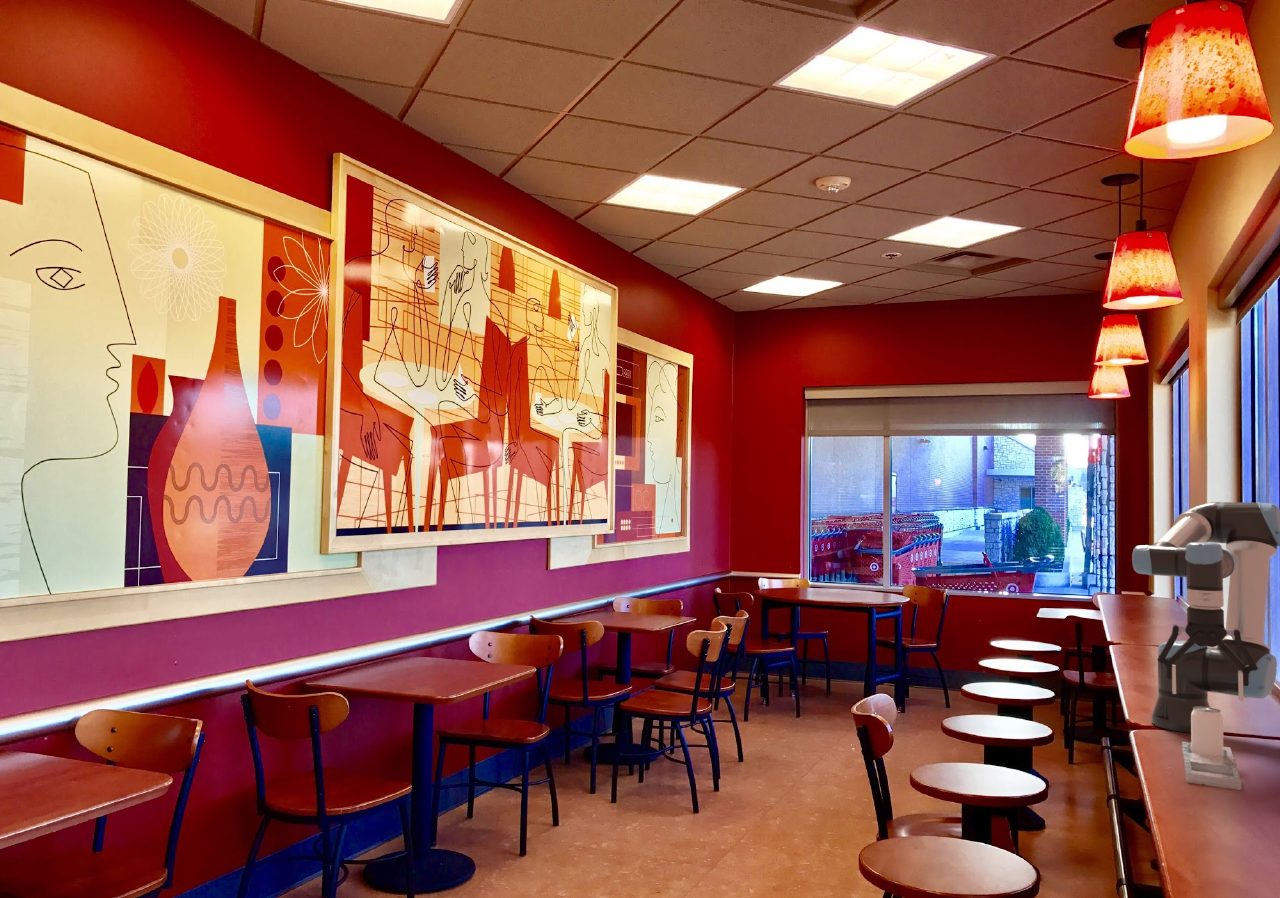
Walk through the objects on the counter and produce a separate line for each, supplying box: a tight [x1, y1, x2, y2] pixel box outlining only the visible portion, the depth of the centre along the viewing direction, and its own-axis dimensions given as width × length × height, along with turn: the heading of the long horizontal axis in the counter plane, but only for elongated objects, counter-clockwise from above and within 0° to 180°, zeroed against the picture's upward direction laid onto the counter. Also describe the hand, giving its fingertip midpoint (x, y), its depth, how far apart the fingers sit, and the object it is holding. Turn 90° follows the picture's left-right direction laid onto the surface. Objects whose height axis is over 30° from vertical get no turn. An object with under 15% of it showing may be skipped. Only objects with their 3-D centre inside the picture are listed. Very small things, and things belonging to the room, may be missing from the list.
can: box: [1190, 706, 1224, 757], centre depth 216 cm, size 6×6×12 cm
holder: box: [1181, 741, 1242, 791], centre depth 209 cm, size 30×10×2 cm, turn 151°
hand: (1207, 696), depth 217 cm, fingers open, 13 cm apart
